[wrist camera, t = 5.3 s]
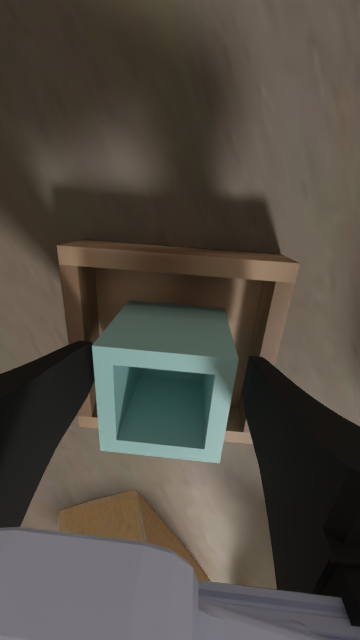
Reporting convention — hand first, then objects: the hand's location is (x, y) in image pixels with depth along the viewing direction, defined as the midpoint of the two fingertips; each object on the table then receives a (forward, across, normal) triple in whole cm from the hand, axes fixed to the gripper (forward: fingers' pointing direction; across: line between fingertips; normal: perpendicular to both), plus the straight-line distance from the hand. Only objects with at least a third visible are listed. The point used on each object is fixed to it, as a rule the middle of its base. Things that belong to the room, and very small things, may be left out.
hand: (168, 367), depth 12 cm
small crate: (+3, 0, 0) cm, 3 cm away
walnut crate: (+3, 0, 0) cm, 3 cm away
